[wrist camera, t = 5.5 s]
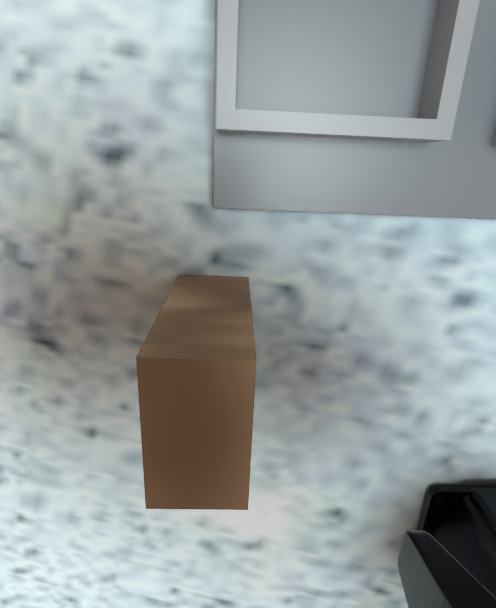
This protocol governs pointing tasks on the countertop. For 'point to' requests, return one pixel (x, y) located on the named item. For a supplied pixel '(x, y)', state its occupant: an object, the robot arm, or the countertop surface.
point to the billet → (198, 396)
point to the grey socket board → (356, 106)
